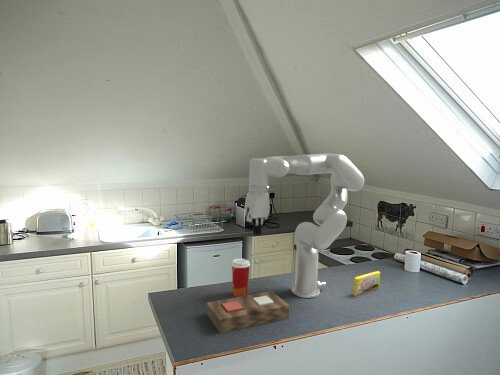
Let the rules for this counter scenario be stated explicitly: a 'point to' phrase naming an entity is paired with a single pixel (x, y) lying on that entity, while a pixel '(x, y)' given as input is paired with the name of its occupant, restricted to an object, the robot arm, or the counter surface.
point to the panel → (247, 312)
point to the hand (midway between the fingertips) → (257, 234)
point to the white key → (263, 301)
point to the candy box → (366, 283)
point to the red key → (232, 306)
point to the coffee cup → (240, 276)
